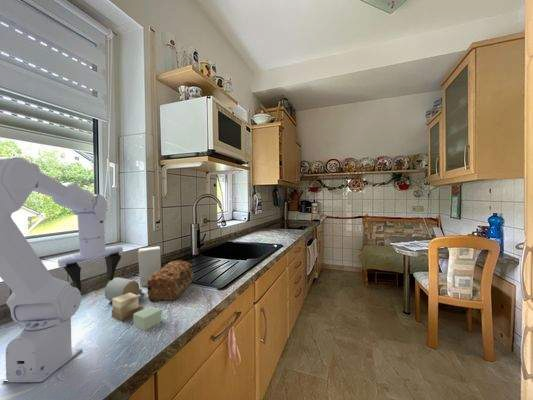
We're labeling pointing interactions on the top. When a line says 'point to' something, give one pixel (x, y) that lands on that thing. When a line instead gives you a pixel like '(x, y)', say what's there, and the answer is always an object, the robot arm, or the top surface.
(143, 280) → the skincare box
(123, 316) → the walnut slab
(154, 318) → the sage block
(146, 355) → the top surface
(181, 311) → the top surface
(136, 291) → the ceramic mug
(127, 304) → the beech block
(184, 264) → the bread
